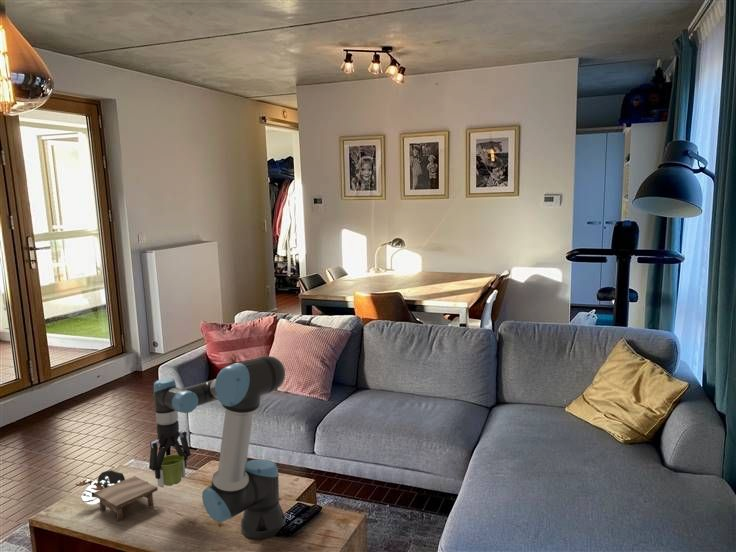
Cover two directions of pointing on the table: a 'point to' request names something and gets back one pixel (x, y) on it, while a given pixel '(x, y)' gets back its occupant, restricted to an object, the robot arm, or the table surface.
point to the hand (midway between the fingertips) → (172, 481)
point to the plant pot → (172, 469)
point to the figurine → (99, 485)
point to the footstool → (125, 494)
